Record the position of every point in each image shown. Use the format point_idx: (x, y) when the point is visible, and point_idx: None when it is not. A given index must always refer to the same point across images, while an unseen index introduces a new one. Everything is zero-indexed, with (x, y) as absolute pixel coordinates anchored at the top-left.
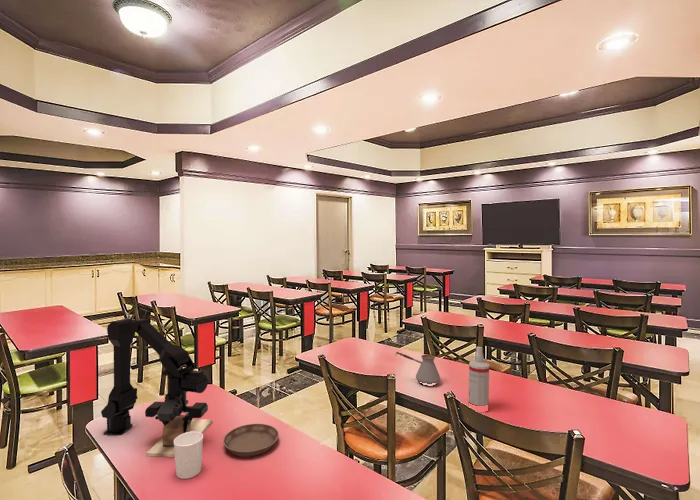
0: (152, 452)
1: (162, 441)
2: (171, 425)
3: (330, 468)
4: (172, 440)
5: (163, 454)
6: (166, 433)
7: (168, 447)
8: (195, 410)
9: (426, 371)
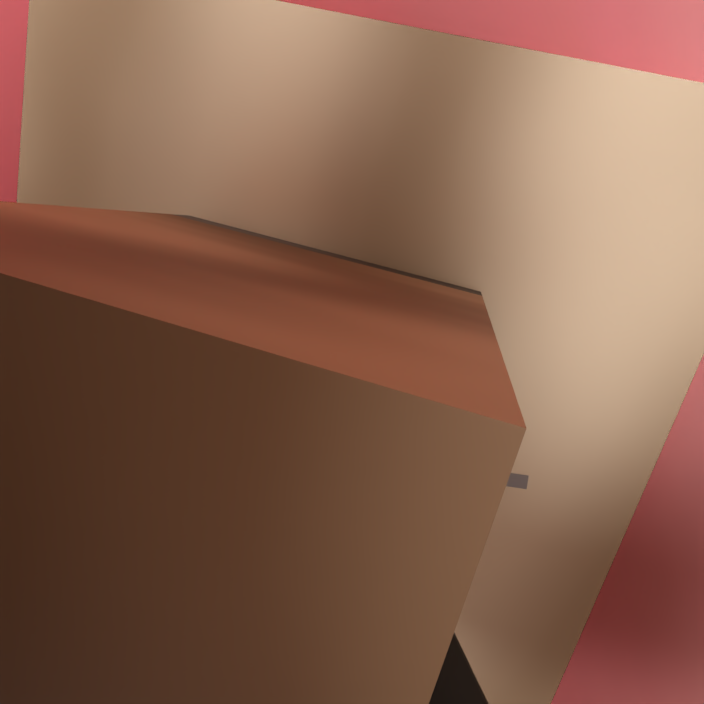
0: (660, 105)
1: (533, 500)
2: (102, 610)
3: None
4: (235, 239)
5: (410, 33)
6: (342, 302)
7: (365, 249)
8: None
9: None
